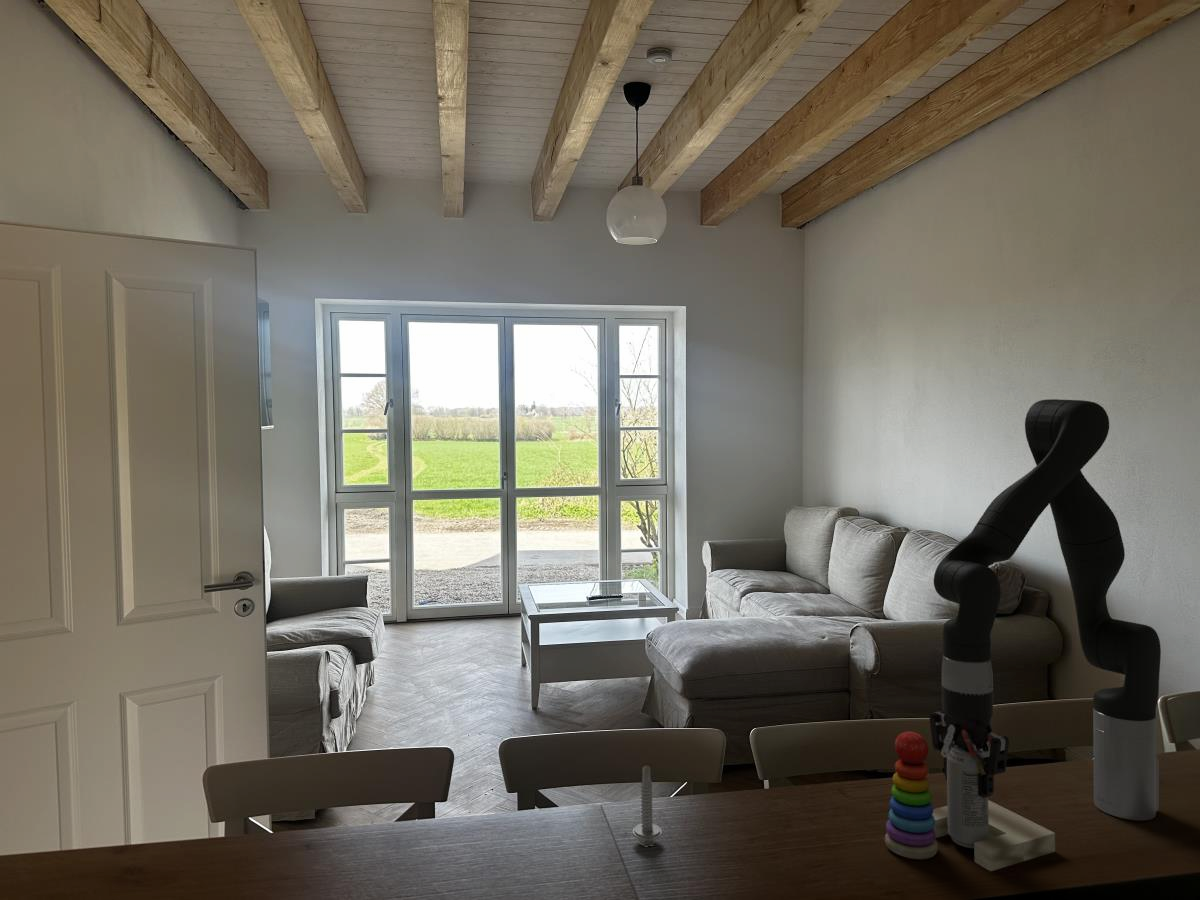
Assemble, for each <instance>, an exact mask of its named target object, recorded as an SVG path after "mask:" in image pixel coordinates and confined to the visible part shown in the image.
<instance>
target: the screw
mask: <svg viewBox="0 0 1200 900" xmlns="http://www.w3.org/2000/svg"><path fill="white" fill-rule="evenodd" d="M641 768H642V770H641V771H642V773H641V774H642V776H641V781H642V782H641V783H640V784H641V786H640V792H641V794H640V795H641V797H640V799H641V800H640V802H641V804H640V805H641V808H640V809H641V811H640V813H641V819H640V820H641V823H639V824H636V825H635V827H633V829H632V836H633V837H635V838H636V839H638V843H639V842H640V843H642V844H643V845H644V846H650V845H654V846H655V844H656V842H657V841H656V840H658V839H659V838H660V837H661V836H662V834H663V830H662V829H661V827H660V826H659V825H657V824H655V823H653V822H654V821H653V819H654V818H653V784H652V783H653V782H652V779H651V767H650V766H648V765H644V766H643V767H641ZM655 841H656V842H655ZM654 843H655V844H654Z"/></svg>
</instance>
